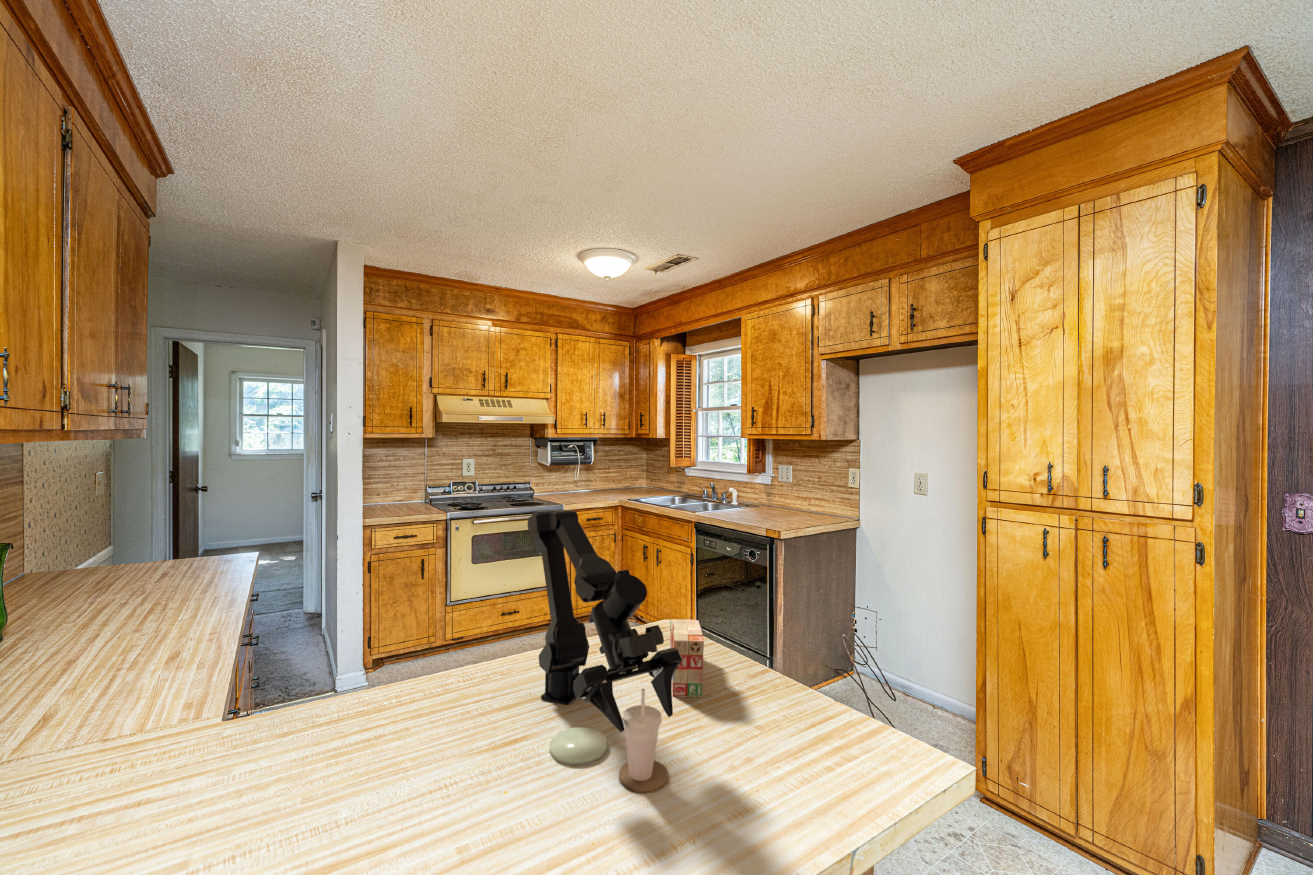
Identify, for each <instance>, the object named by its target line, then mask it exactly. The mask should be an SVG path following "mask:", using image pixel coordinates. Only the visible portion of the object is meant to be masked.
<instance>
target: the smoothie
mask: <svg viewBox="0 0 1313 875" xmlns="http://www.w3.org/2000/svg"><path fill="white" fill-rule="evenodd" d="M645 700H646V689H645V688H641V700H640V703H641V704H640V705H639V704H638V705H634V706H630V707H628V708H627V709H625V710H624V711H623V713H622V720H623V724H624V729H625V730H624V733H625V734H624V735H625V744H626V755H627V762H628V767H629V775H630V777H631V778H632V779H634V780H638V781H644V780H647V779H649V778H650V777H651V776H652V771H653V764H654V761H655V756H656V749H657V742H658V738H659V737H658V735H659V729H660V726H661V724H662V721H663V720H662V713H661V711H660V710H659V709H657V707H656V708H655V707H653V706H650V705H646V703H645V702H646V701H645Z"/></svg>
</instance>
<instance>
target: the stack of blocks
mask: <svg viewBox="0 0 1313 875" xmlns="http://www.w3.org/2000/svg"><path fill="white" fill-rule="evenodd" d="M669 622H670V626H669V628H670V629H669V632H670V638H669V639H670V641H669V642H670V643H669V644H670V648H675V649H677V650H678V651H679V652H680V655H681V657H682V660H683V661H682V662H681V663H680V664H679V665H678V669H677V670H676V671H675V672H674V673H673V676H672V686H671V689H672V693H673V694H672V697H674V696H703V695H702V694H703V693H702V692H703V668H704V648H705V647H704V646H705V640H704V635H703V632H702V627H701V625H700V622H699V620H698V619H697V620H696V619H686V618H685V619H674V618H673V619H672V618H671V619H670V621H669Z"/></svg>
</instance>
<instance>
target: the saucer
mask: <svg viewBox="0 0 1313 875" xmlns="http://www.w3.org/2000/svg"><path fill="white" fill-rule="evenodd" d="M548 750H549V753H550V756H551V758H553V759H554V760H555V761H557V762H558V763H561V764H565V765H570V766H583V765H587V764H591V763H594V762H597V761H598V760H601V758H603V757H604V755H605V754H606V752H607V750H608V739H607V737H606V735H605V734H604V733H602V732H601V731H599V730H598V729H595V728H591V727H584V726H582V727H581V726H580V727H579V726H578V727H576V726H575V727H571V728H567V729H563V730H561V731H559V732H557V733H556V734H555V735H553V737H552V738H551V739H550V741H549V749H548Z"/></svg>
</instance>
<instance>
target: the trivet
mask: <svg viewBox="0 0 1313 875" xmlns="http://www.w3.org/2000/svg"><path fill="white" fill-rule="evenodd" d="M618 780H619V783H620V784H621V785H622V786H623V788H625V789H627V790H629V791H630V792H633V793H639V794H648V793H654V792H658V791H659V790H661V789H663V788H664V787H665V786H666V785H667V784H668V781H669V770H668V769H667V767H666V766H665V765H664V764H663V763H661V762H659V761H656V760H654V764H653V771H652V776H651V777H650V778H649V779H647V780H644V781H638V780H634V779H632V778H631V777H630V775H629V767H628V761H627V762H625V763H624V764H622V766H621V767H620V768H619V771H618Z"/></svg>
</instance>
